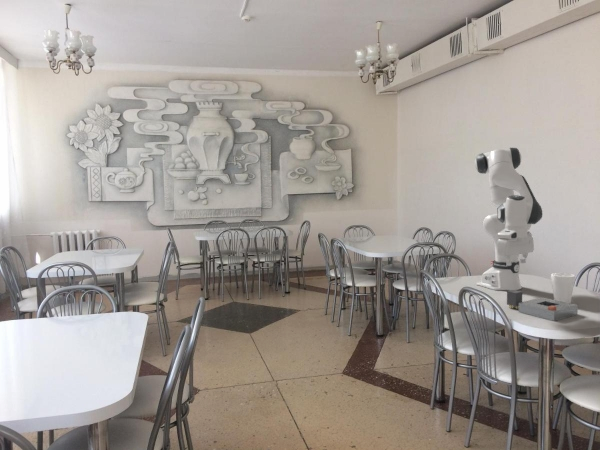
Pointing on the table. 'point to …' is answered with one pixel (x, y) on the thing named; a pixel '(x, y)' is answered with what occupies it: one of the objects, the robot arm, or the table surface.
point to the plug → (514, 298)
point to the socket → (548, 308)
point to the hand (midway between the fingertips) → (516, 264)
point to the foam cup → (562, 286)
